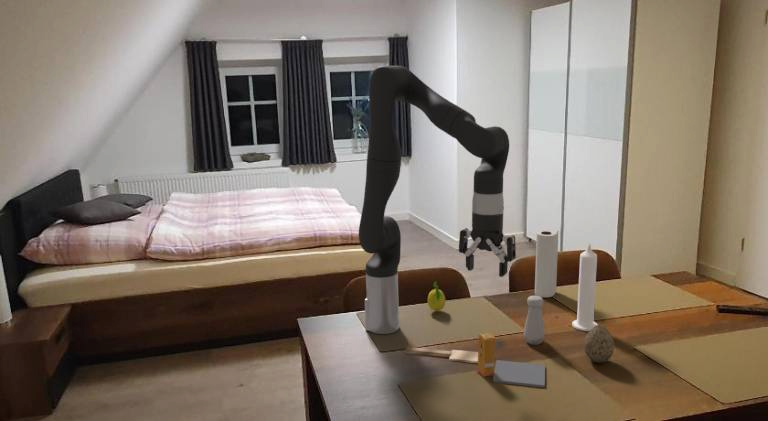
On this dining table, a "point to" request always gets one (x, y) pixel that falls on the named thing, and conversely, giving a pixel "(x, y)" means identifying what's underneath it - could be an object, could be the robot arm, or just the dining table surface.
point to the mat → (519, 373)
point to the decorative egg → (599, 344)
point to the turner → (447, 354)
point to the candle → (586, 291)
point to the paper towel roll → (546, 263)
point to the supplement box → (486, 354)
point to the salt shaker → (534, 321)
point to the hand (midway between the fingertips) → (486, 272)
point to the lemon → (436, 299)
